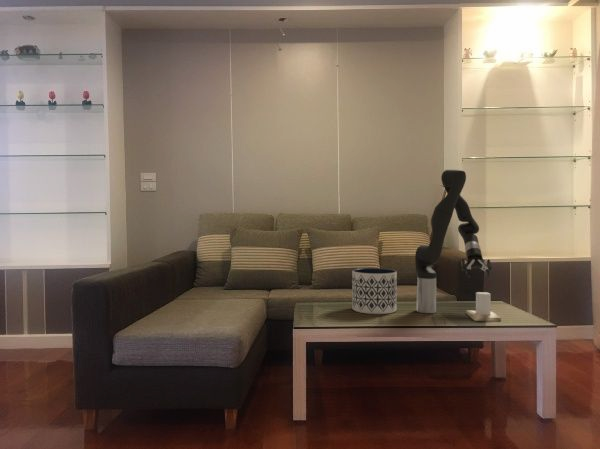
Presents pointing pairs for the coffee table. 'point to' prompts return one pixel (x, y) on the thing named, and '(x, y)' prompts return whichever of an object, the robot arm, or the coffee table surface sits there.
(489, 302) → the block
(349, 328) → the coffee table surface
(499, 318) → the stub plate
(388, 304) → the planter
